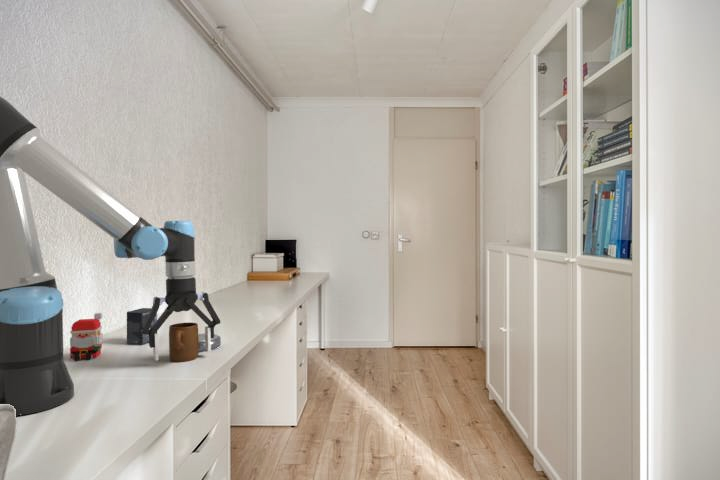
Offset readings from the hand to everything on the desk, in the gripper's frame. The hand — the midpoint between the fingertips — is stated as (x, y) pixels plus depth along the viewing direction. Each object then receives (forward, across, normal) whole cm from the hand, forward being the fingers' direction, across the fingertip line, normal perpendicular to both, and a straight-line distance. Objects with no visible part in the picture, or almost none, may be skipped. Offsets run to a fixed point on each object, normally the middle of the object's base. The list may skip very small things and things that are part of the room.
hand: (183, 354), depth 121 cm
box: (+2, -5, +31) cm, 31 cm away
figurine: (+2, -21, +21) cm, 30 cm away
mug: (+2, 0, 0) cm, 2 cm away
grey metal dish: (+2, +8, +12) cm, 14 cm away
